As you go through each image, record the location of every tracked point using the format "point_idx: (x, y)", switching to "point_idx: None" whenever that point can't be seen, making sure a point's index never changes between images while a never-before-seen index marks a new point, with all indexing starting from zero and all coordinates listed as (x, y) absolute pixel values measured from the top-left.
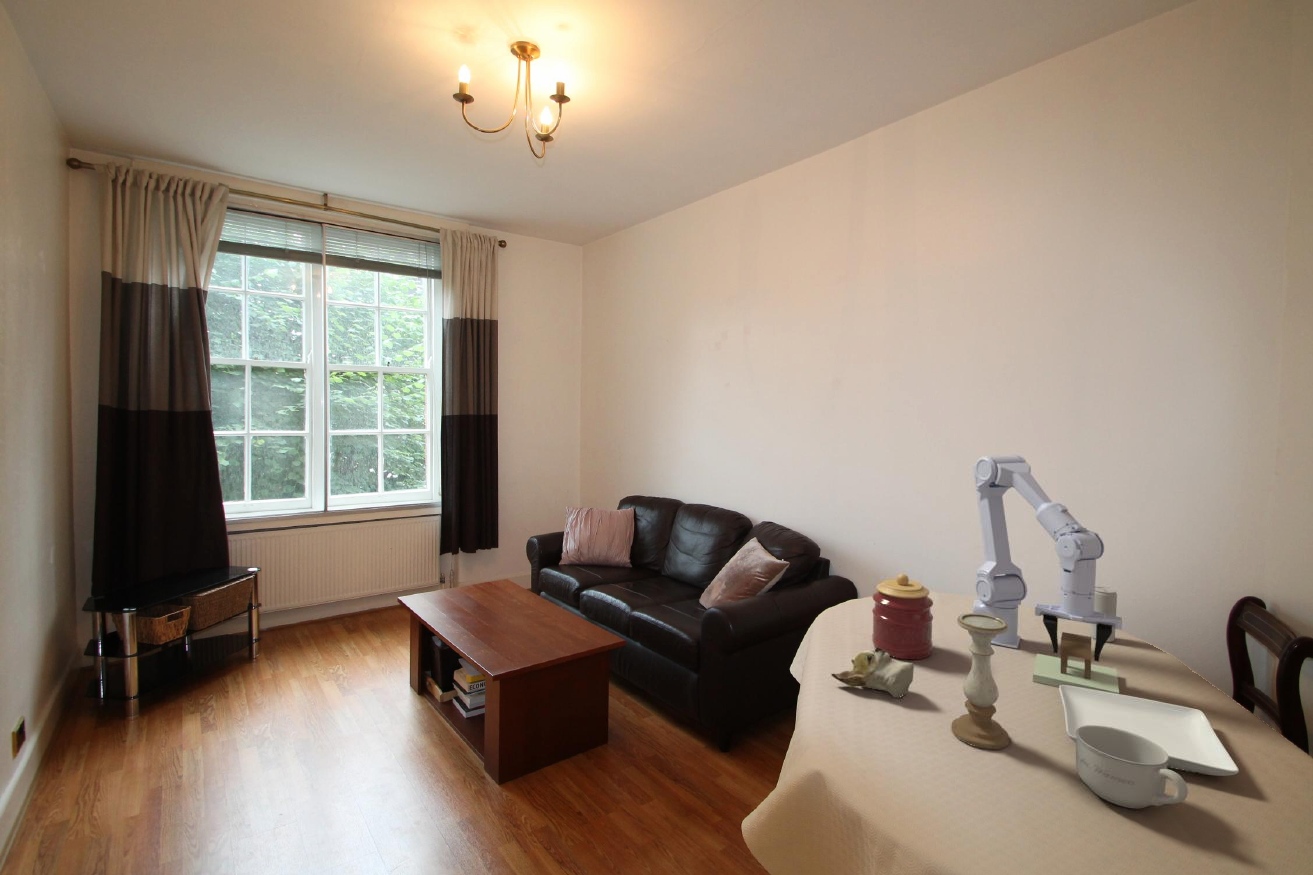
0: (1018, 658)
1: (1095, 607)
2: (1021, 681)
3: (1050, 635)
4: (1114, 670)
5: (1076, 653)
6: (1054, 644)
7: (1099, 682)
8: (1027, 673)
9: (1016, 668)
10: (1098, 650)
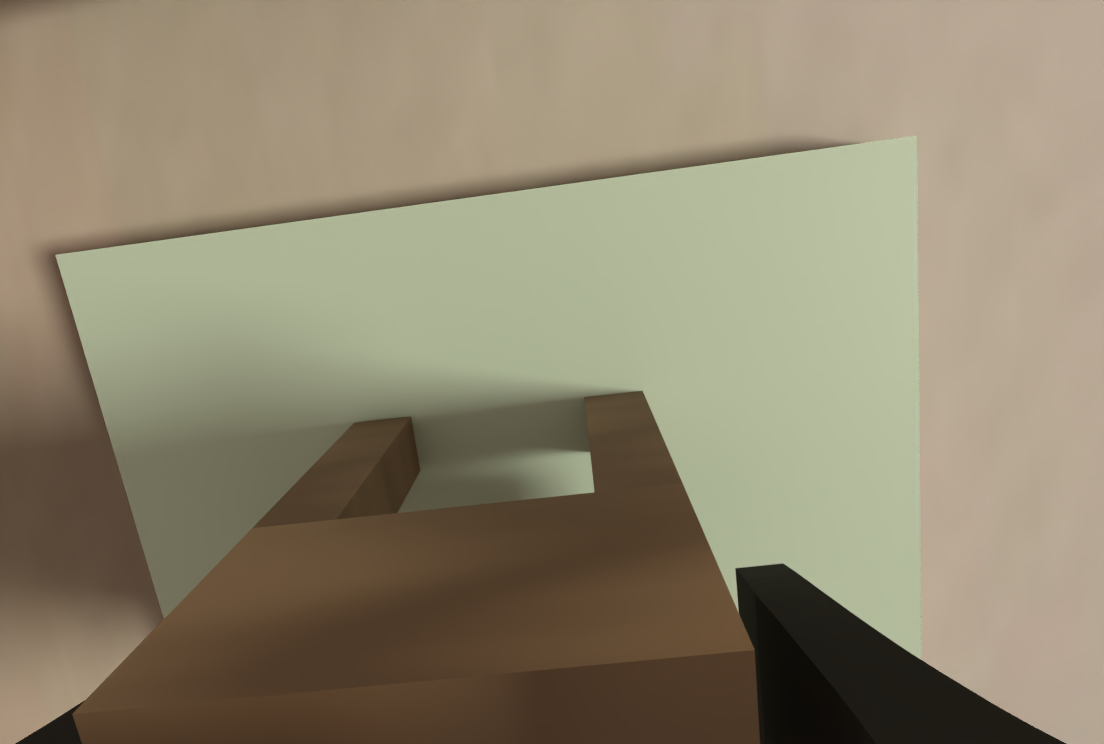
0: (1050, 659)
1: None
2: (984, 50)
3: (1041, 737)
4: None
5: (442, 540)
6: (833, 629)
7: (268, 403)
8: (941, 331)
9: (1056, 390)
10: (68, 723)
